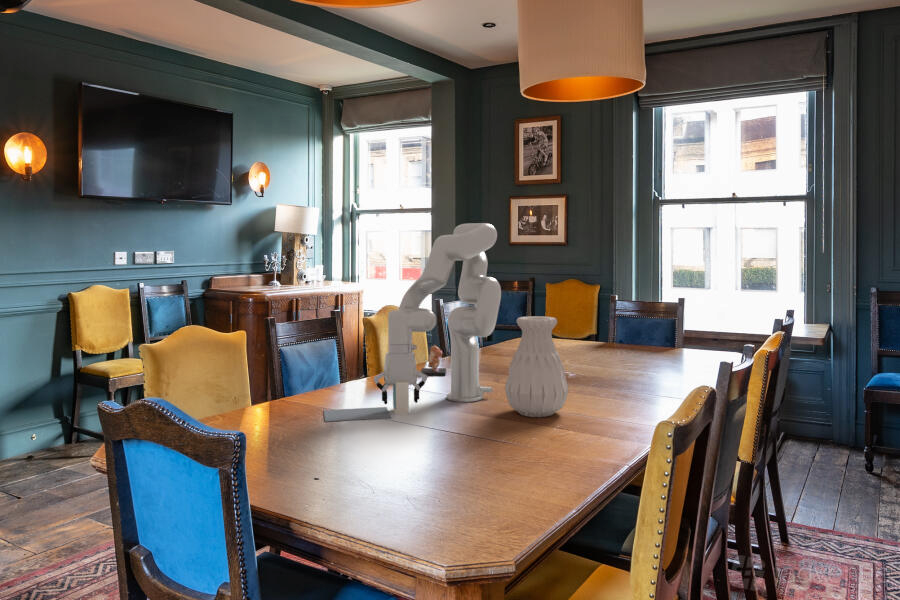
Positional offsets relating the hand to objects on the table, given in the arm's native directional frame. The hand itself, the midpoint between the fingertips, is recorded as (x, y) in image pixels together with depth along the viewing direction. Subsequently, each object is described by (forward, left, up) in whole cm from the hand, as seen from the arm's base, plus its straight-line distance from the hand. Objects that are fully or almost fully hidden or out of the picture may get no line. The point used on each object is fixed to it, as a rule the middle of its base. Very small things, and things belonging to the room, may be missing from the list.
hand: (400, 402), depth 220 cm
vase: (-41, +11, -3) cm, 43 cm away
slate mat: (+14, +1, -3) cm, 14 cm away
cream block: (0, 0, -3) cm, 3 cm away
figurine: (-22, -62, -3) cm, 65 cm away
